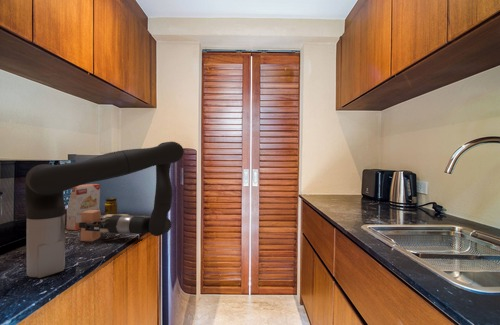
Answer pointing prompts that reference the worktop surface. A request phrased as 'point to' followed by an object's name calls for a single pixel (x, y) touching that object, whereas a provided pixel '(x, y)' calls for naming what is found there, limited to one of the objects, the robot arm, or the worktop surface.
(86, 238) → the orange block
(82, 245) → the worktop surface
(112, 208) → the condiment
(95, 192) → the cracker box
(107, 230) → the birch base block
